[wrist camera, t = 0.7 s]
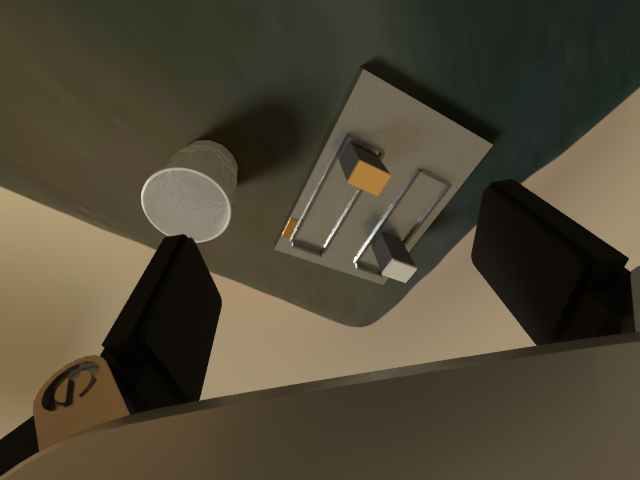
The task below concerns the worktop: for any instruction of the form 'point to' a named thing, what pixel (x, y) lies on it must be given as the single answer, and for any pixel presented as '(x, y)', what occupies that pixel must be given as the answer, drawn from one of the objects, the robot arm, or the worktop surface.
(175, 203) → the white cup
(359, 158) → the block
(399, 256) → the fader
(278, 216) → the worktop surface
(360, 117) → the console
